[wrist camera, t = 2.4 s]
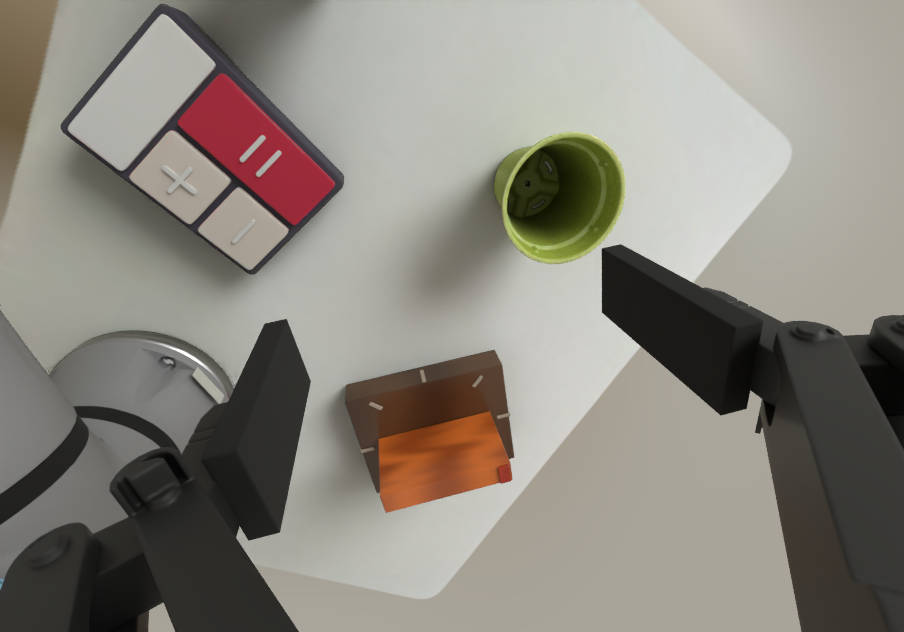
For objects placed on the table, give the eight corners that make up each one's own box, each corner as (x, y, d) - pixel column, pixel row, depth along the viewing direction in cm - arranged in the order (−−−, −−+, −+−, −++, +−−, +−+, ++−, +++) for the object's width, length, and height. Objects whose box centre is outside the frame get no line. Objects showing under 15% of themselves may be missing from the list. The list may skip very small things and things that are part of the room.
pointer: (383, 454, 46) (385, 515, 39) (378, 438, 45) (380, 498, 38) (492, 426, 47) (513, 481, 40) (489, 410, 46) (511, 464, 39)
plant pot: (592, 193, 40) (645, 213, 33) (510, 254, 42) (543, 287, 34) (544, 102, 36) (591, 101, 28) (454, 173, 37) (477, 190, 30)
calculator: (250, 281, 35) (48, 129, 27) (260, 262, 38) (84, 124, 31) (346, 186, 33) (156, -4, 26) (346, 176, 36) (181, 8, 29)
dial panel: (378, 482, 51) (379, 504, 49) (340, 372, 44) (339, 390, 41) (509, 449, 53) (516, 468, 50) (493, 336, 45) (501, 351, 42)
